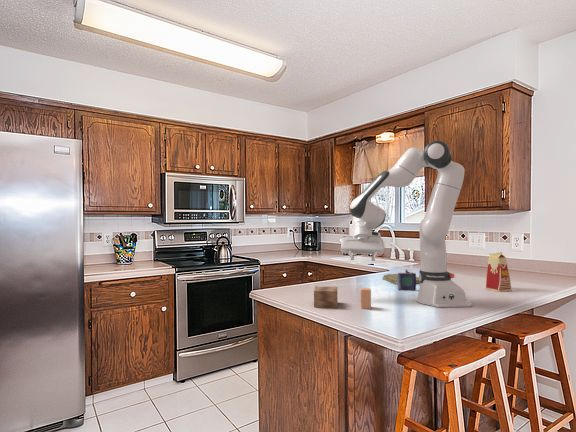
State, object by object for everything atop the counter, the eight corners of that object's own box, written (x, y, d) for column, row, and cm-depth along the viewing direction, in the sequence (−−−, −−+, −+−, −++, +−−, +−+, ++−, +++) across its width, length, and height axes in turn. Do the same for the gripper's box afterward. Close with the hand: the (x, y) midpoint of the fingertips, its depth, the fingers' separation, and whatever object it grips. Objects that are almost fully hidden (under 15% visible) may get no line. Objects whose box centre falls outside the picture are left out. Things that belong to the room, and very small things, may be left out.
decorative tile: (406, 278, 227) (406, 272, 227) (427, 284, 208) (427, 278, 208) (379, 280, 222) (379, 274, 222) (397, 286, 203) (397, 280, 203)
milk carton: (511, 290, 188) (511, 251, 188) (499, 292, 185) (498, 252, 185) (495, 287, 197) (495, 250, 197) (483, 288, 193) (483, 251, 193)
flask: (397, 290, 191) (397, 269, 191) (397, 289, 194) (397, 268, 194) (416, 290, 189) (416, 270, 189) (415, 289, 192) (415, 269, 192)
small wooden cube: (337, 302, 166) (337, 286, 165) (337, 307, 156) (337, 291, 156) (315, 301, 167) (315, 286, 167) (314, 307, 157) (313, 291, 157)
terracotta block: (370, 306, 158) (369, 288, 158) (370, 309, 154) (370, 290, 154) (360, 306, 158) (360, 287, 158) (361, 308, 154) (361, 289, 154)
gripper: (340, 232, 176) (340, 254, 166) (383, 233, 173) (386, 256, 164) (340, 240, 181) (339, 263, 171) (382, 241, 178) (384, 264, 168)
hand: (362, 259), depth 167 cm, fingers open, 8 cm apart
